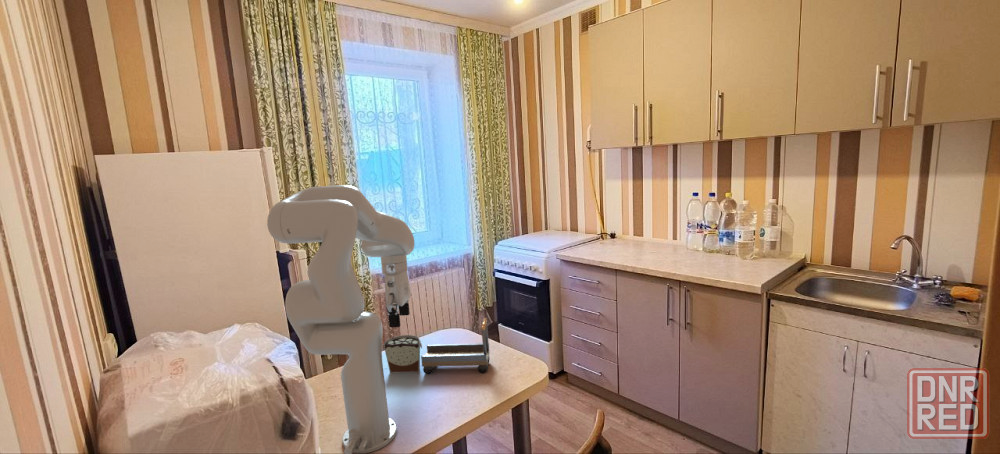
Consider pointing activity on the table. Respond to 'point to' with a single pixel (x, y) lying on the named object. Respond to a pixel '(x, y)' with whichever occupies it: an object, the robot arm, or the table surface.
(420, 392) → the table surface
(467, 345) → the trolley
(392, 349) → the food container
